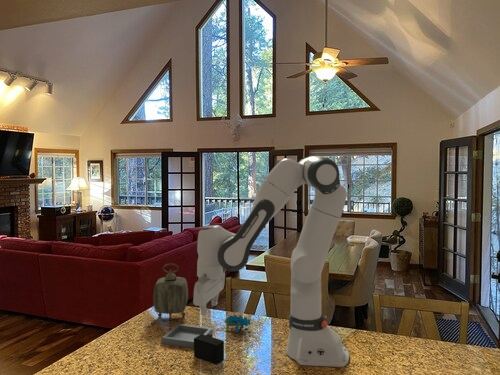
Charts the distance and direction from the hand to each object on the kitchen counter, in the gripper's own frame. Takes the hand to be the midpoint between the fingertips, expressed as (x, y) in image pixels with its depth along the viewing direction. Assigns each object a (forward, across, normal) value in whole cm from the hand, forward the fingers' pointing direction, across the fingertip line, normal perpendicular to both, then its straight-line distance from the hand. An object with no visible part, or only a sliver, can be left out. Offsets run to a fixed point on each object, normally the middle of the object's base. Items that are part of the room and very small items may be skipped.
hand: (209, 309), depth 133 cm
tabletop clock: (+18, +27, +30) cm, 44 cm away
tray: (+17, +11, +14) cm, 25 cm away
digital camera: (+18, 0, 0) cm, 18 cm away
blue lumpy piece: (+17, +25, -2) cm, 30 cm away
